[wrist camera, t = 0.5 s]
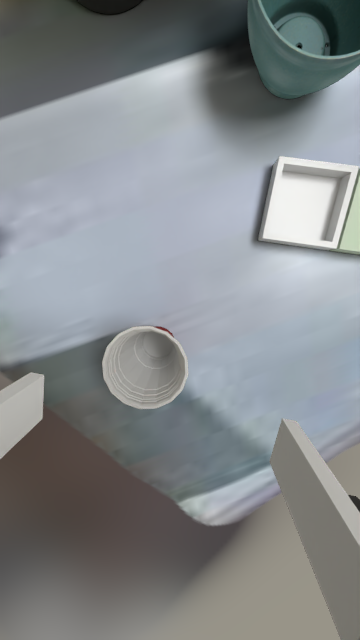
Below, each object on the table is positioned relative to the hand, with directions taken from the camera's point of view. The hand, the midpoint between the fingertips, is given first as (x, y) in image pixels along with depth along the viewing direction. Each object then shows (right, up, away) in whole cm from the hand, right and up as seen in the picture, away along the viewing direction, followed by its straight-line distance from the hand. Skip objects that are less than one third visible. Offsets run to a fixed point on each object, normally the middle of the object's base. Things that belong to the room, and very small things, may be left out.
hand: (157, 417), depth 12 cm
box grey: (+19, +22, +22) cm, 36 cm away
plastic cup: (-2, +2, +27) cm, 27 cm away
